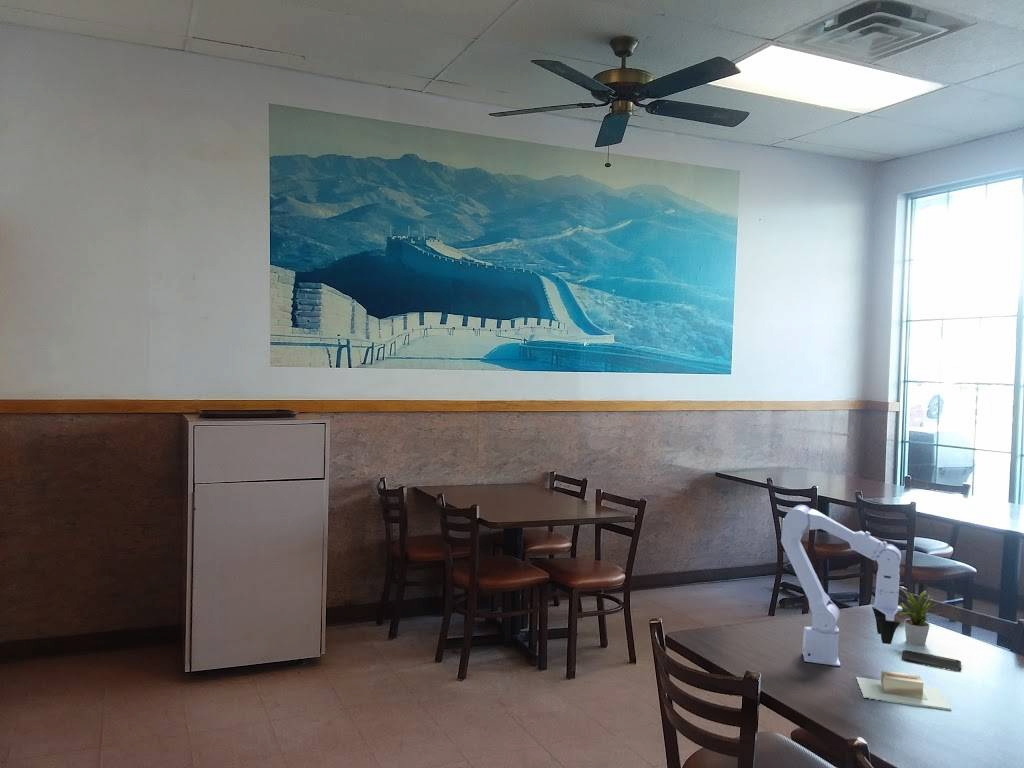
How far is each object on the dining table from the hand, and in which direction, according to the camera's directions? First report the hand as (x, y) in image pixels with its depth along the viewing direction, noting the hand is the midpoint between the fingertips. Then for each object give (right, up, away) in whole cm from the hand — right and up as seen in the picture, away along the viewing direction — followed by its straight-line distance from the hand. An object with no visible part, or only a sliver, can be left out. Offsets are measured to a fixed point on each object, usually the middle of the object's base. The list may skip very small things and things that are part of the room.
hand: (884, 638), depth 222 cm
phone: (+18, -10, +10) cm, 23 cm away
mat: (-2, -10, -14) cm, 17 cm away
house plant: (+21, -9, +26) cm, 35 cm away
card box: (-2, -9, -14) cm, 17 cm away
